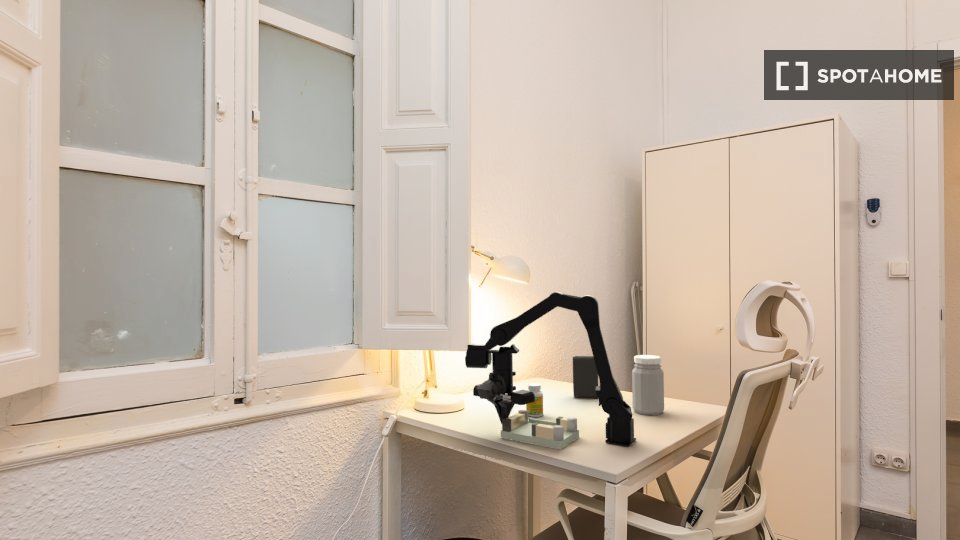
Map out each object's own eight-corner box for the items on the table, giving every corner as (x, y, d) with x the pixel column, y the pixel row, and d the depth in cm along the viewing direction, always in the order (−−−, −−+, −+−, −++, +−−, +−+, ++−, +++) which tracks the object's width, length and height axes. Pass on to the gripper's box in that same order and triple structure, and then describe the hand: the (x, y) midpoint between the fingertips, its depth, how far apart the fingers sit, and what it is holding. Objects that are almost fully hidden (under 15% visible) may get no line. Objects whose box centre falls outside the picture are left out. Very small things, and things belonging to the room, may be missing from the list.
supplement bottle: (529, 417, 159) (529, 386, 159) (523, 413, 164) (523, 383, 164) (545, 416, 160) (545, 385, 160) (539, 412, 165) (538, 382, 165)
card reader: (598, 396, 186) (597, 355, 187) (599, 398, 182) (598, 357, 183) (573, 395, 188) (572, 355, 188) (573, 398, 184) (572, 357, 184)
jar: (662, 409, 167) (661, 354, 167) (666, 416, 158) (664, 359, 158) (632, 407, 169) (631, 354, 170) (633, 415, 160) (632, 358, 160)
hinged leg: (521, 420, 148) (521, 409, 149) (529, 421, 147) (529, 410, 147) (501, 430, 139) (501, 418, 139) (510, 431, 137) (510, 420, 137)
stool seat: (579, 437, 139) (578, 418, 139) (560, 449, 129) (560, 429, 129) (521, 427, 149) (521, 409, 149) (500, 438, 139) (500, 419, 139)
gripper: (459, 369, 143) (460, 424, 143) (509, 377, 130) (510, 437, 130) (485, 363, 151) (486, 416, 151) (535, 370, 138) (536, 428, 138)
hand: (503, 424), depth 142 cm, fingers closed
